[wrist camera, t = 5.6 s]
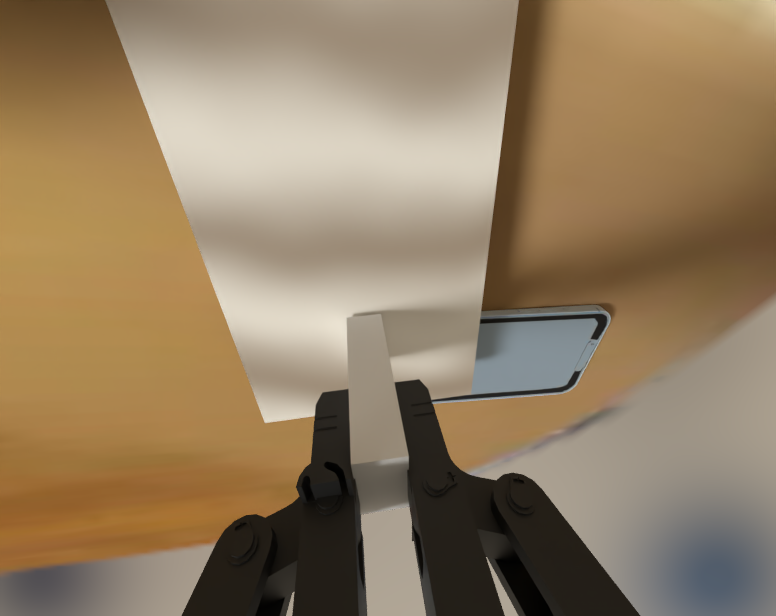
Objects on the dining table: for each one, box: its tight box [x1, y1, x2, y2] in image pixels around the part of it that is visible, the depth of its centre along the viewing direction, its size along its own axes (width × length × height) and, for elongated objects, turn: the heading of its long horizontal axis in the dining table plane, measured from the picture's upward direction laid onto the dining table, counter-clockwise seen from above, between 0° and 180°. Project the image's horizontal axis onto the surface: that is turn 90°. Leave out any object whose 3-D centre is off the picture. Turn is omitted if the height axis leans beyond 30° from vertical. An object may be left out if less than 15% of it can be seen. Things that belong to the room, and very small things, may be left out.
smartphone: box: [432, 305, 611, 404], centre depth 20 cm, size 7×1×15 cm
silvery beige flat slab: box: [105, 0, 519, 423], centre depth 12 cm, size 19×11×2 cm, turn 2°
